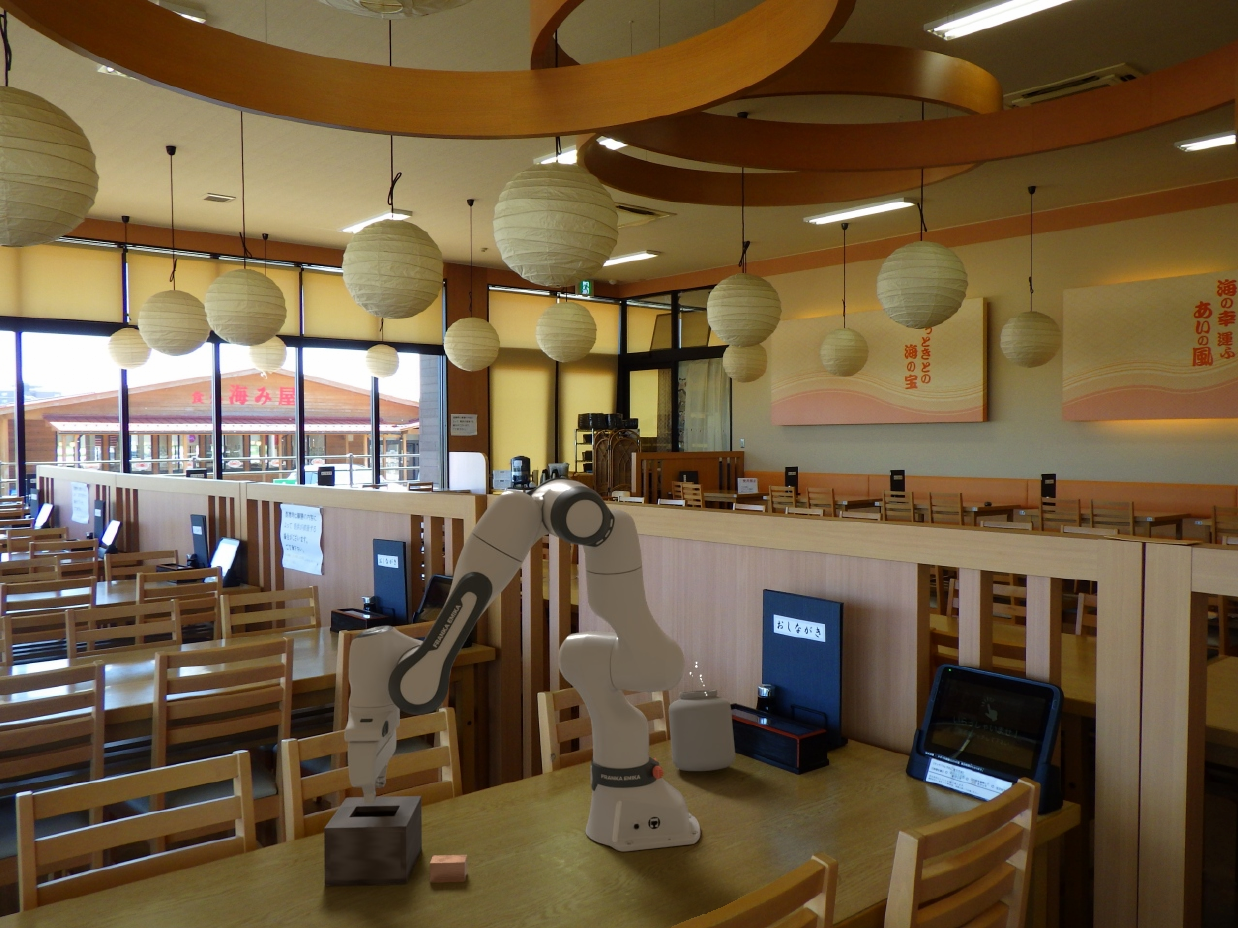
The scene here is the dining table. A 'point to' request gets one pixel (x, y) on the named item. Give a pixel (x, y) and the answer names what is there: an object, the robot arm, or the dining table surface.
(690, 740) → the jar
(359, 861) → the tip box
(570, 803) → the dining table surface
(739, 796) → the dining table surface
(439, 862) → the pink rectangular block
